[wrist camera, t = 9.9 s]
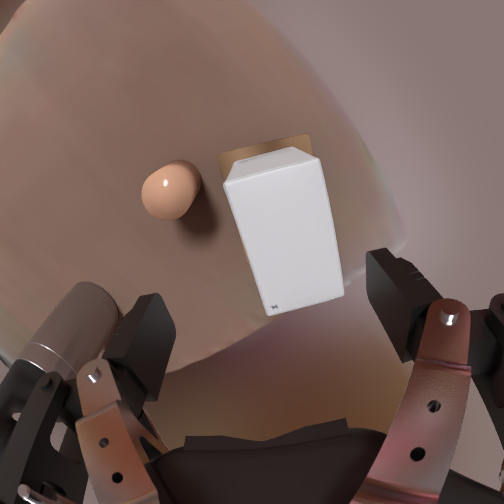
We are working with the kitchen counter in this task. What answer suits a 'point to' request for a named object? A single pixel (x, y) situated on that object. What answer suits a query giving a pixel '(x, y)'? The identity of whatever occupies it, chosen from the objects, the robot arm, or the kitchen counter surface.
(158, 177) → the peach rounded knob
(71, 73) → the kitchen counter surface
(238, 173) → the skincare box
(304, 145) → the stand
